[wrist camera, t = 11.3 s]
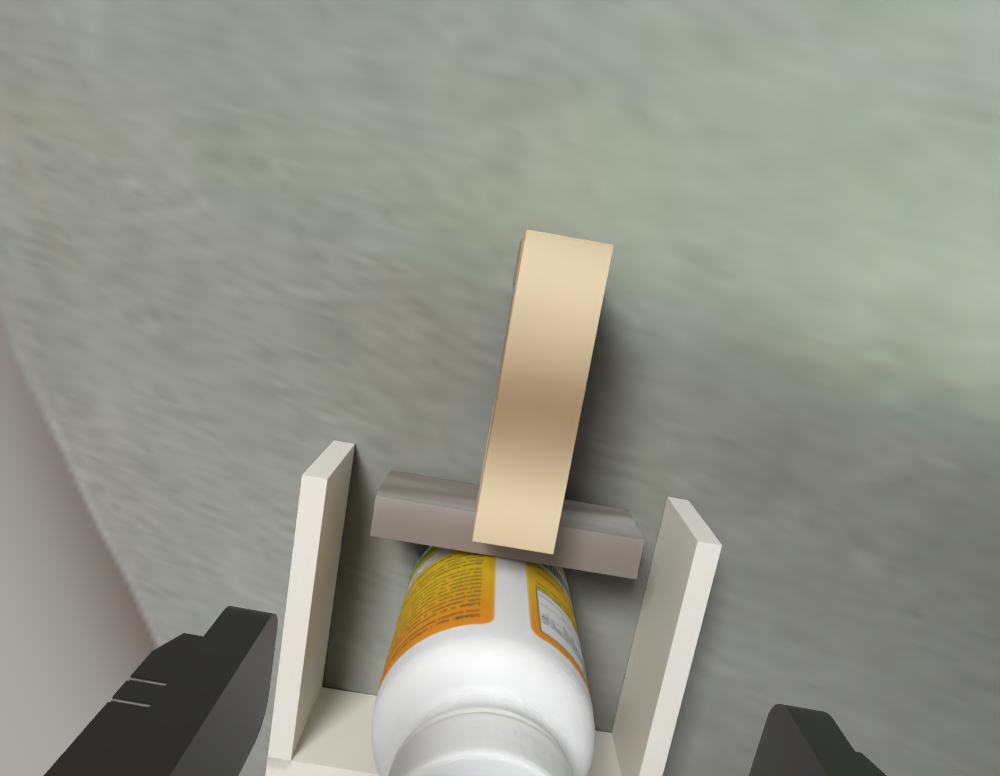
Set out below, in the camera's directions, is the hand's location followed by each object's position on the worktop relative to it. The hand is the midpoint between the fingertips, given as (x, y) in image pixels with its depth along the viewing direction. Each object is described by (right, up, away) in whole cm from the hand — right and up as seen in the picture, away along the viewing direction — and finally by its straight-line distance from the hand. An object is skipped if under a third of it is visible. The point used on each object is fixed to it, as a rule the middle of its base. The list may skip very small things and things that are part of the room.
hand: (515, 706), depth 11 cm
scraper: (+1, +5, +14) cm, 15 cm away
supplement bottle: (-1, -3, +16) cm, 16 cm away
